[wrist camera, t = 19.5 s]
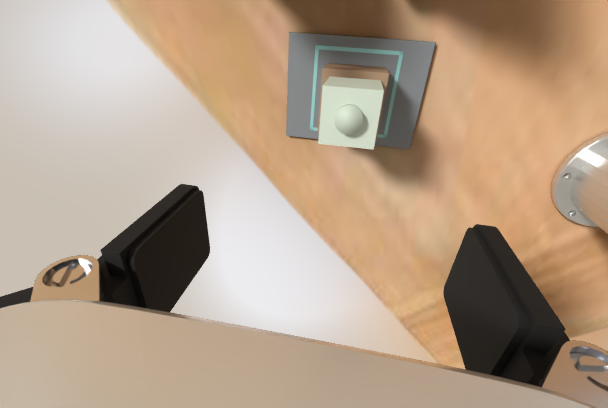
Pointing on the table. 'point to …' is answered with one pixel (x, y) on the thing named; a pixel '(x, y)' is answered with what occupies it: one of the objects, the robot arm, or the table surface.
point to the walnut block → (357, 73)
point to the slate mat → (358, 51)
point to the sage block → (350, 112)
